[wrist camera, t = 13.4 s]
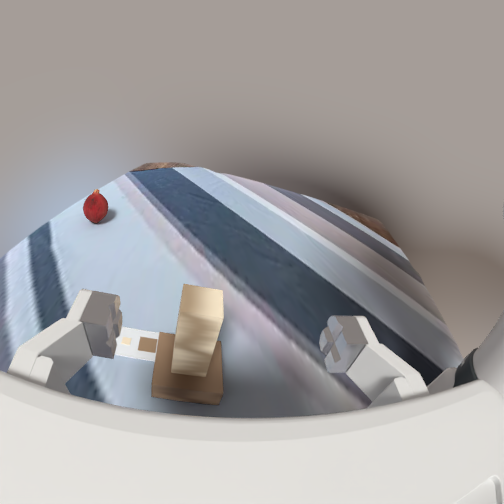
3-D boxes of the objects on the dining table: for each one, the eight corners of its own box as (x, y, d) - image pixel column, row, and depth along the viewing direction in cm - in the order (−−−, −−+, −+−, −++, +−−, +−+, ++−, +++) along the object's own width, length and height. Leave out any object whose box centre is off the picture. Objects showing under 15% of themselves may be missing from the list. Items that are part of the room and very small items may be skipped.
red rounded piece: (100, 231, 56) (100, 196, 52) (79, 226, 55) (78, 192, 51) (111, 220, 61) (113, 187, 57) (91, 215, 60) (91, 183, 56)
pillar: (205, 350, 34) (222, 290, 29) (205, 377, 31) (223, 318, 26) (173, 346, 33) (183, 283, 28) (170, 372, 30) (179, 311, 25)
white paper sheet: (167, 335, 38) (167, 333, 38) (163, 363, 34) (163, 361, 34) (113, 325, 36) (113, 324, 36) (105, 352, 32) (104, 351, 32)
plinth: (216, 354, 38) (221, 341, 36) (218, 405, 31) (223, 393, 29) (158, 346, 36) (159, 331, 34) (151, 396, 29) (151, 384, 28)
